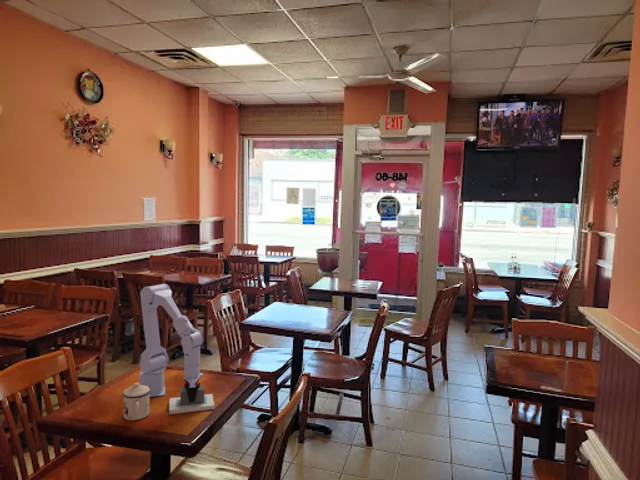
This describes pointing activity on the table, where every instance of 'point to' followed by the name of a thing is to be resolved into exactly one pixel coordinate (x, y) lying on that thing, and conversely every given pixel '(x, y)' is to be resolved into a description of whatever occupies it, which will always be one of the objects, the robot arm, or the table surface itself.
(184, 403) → the block
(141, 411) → the teacup with lid
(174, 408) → the pin board
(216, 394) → the table surface
